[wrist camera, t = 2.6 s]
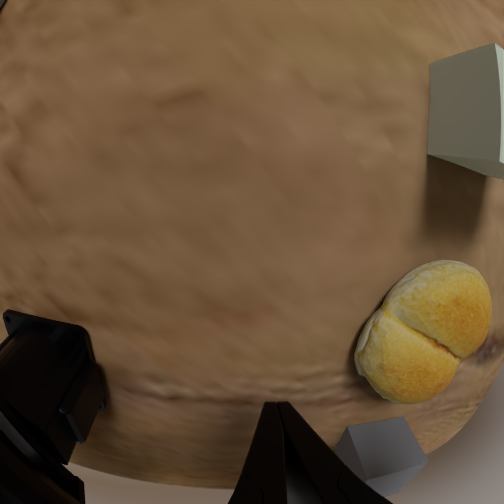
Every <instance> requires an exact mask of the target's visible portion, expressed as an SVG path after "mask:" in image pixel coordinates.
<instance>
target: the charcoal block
mask: <svg viewBox="0 0 504 504" xmlns="http://www.w3.org/2000/svg"><path fill="white" fill-rule="evenodd" d="M334 453H335V454H336V455H337V456H338V457H339V458H340V459H341V460H342V461H343V462H344V465H347V466H348V467H349V468H350V469H351V470H352V471H353V472H354V473H355V474H356V475H357V476H358V477H359V478H360V479H361V480H362V481H363V482H365V483H366V484H367V485H368V486H370V487H371V488H372V489H374V490H375V491H376V492H378V493H379V494H380V495H382V496H383V497H386V496H389V495H392V494H395V493H398V492H399V491H400V490H401V489H402V488H403V487H404V486H405V485H406V484H407V483H408V482H409V481H410V480H411V479H412V478H413V477H414V476H415V475H416V474H417V473H418V472H419V471H420V470H421V469H422V468H423V467H424V466H425V465H426V463H427V462H428V460H427V458H426V456H425V454H424V452H423V451H422V449H421V447H420V445H419V443H418V441H417V440H416V438H415V436H414V434H413V432H412V431H411V429H410V427H409V425H408V424H407V422H406V420H405V418H404V417H398V418H394V419H389V420H384V421H379V422H373V423H367V424H361V425H354V426H347V428H346V430H345V432H344V434H343V436H342V437H341V439H340V441H339V443H338V445H337V447H336V448H335V450H334Z"/></svg>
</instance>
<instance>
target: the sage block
mask: <svg viewBox="0 0 504 504" xmlns="http://www.w3.org/2000/svg"><path fill="white" fill-rule="evenodd" d="M427 154H428V155H431V156H434V157H437V158H440V159H443V160H446V161H449V162H452V163H454V164H457V165H460V166H463V167H465V168H468V169H470V170H473V171H476V172H478V173H481V174H483V175H485V176H490V177H495V178H500V179H504V50H503V49H502V48H501V47H499V46H498V45H497V44H495V43H493V44H489V45H486V46H482V47H479V48H475V49H472V50H468V51H465V52H462V53H459V54H456V55H453V56H450V57H447V58H444V59H441V60H438V61H435V62H433V63H430V115H429V133H428V146H427Z"/></svg>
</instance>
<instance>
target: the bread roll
mask: <svg viewBox="0 0 504 504" xmlns="http://www.w3.org/2000/svg"><path fill="white" fill-rule="evenodd" d="M491 316H492V306H491V296H490V292H489V288H488V286H487V284H486V282H485V280H484V279H483V277H482V276H481V274H480V273H479V272H478V271H477V270H476V269H475V268H473V267H471V266H469V265H467V264H465V263H463V262H458V261H453V260H437V261H433V262H429V263H426V264H423V265H421V266H419V267H417V268H415V269H413V270H412V271H410V272H409V273H407V274H406V275H405V276H404V277H403V278H401V279H400V280H399V281H398V282H397V283H396V284H395V285H394V287H393V288H392V289H391V290H390V291H389V292H388V294H387V295H386V297H385V299H384V302H383V304H382V306H381V307H380V308H379V309H378V310H377V311H376V312H374V313H373V315H372V316H371V317H370V318H369V319H368V321H367V323H366V324H365V326H364V329H363V331H362V333H361V335H360V337H359V339H358V343H357V347H356V349H355V354H354V360H355V365H356V368H357V372H358V374H359V375H361V376H364V377H366V379H367V380H368V382H369V383H370V385H371V386H372V387H373V388H374V390H375V391H376V392H377V393H379V394H380V395H381V396H382V397H383V398H385V399H389V401H392V402H394V403H396V404H414V403H420V402H423V401H425V400H428V399H430V398H432V397H434V396H435V395H437V394H439V393H440V392H441V391H443V390H444V389H445V388H446V387H447V386H448V385H449V383H450V382H451V380H452V379H453V377H454V374H455V371H456V369H457V366H458V364H459V362H460V359H463V358H465V357H466V356H468V355H469V354H471V353H472V352H474V351H475V350H476V349H477V348H478V347H479V346H480V345H481V344H482V343H483V341H484V339H485V338H486V336H487V333H488V331H489V327H490V323H491Z"/></svg>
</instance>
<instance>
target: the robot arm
mask: <svg viewBox="0 0 504 504" xmlns="http://www.w3.org/2000/svg"><path fill="white" fill-rule="evenodd" d="M3 319H4V323H5V326H6V329H7V332H8V335H9V336H8V337H7V338H6V339H5V340H4V341H3V342H2V343H1V344H0V504H85V493H84V482H83V481H82V480H81V479H79V478H78V477H77V476H74V475H73V474H72V473H71V472H70V471H68V470H67V469H66V468H65V467H64V466H63V465H62V464H64V465H68V463H69V460H70V458H71V455H72V453H73V450H74V448H75V445H76V443H80V444H82V443H84V442H85V441H86V439H87V436H88V434H89V431H90V429H91V426H92V424H93V422H94V419H95V417H96V414H97V412H98V410H99V411H103V410H104V409H105V407H106V400H105V397H104V396H105V393H104V389H103V386H102V383H101V379H100V376H99V372H98V368H97V365H96V364H95V362H94V359H93V355H92V351H91V346H90V342H89V338H88V334H87V331H86V330H85V329H84V328H83V327H82V326H79V325H75V324H70V323H65V322H60V321H55V320H51V319H46V318H42V317H37V316H33V315H29V314H25V313H21V312H17V311H13V310H7V311H5V312H4V313H3ZM77 333H78V334H79V335H80V336H81V337H80V336H79V335H77ZM61 463H62V464H61ZM228 504H393V503H391V502H390V501H389V500H387V499H386V498H384V497H383V496H382V495H380V494H379V493H378V492H376V491H375V490H374V489H372V488H371V487H370V486H368V485H367V484H366V483H365V482H363V481H362V480H361V479H360V478H359V477H358V476H357V475H356V474H355V473H354V472H353V471H352V470H351V469H350V468H349V467H348V466H347V465H344V462H343V461H342V460H341V459H340V458H339V457H338V456H337V455H336V454H335V453H334V452H333V451H332V450H331V449H330V447H329V446H328V445H327V444H326V443H325V442H324V441H323V440H322V439H321V438H320V437H319V435H318V434H317V433H316V432H315V431H314V430H313V429H312V428H311V427H310V425H309V424H308V423H307V422H306V421H305V420H304V419H303V418H302V416H301V415H300V414H299V413H298V412H297V411H296V410H295V408H294V407H293V406H292V405H291V404H290V403H289V402H288V401H280V402H277V403H276V402H265V403H264V405H263V408H262V411H261V415H260V418H259V421H258V424H257V427H256V430H255V434H254V437H253V440H252V443H251V446H250V449H249V452H248V455H247V458H246V461H245V463H244V466H243V469H242V472H241V475H240V477H239V480H238V483H237V485H236V488H235V490H234V493H233V495H232V496H231V498H230V500H229V502H228Z"/></svg>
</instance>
